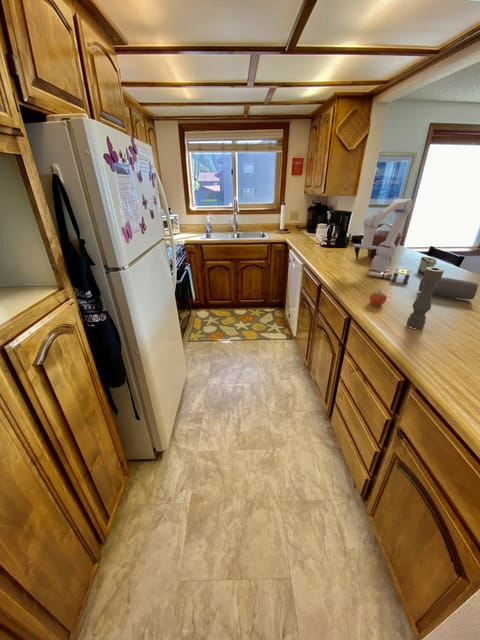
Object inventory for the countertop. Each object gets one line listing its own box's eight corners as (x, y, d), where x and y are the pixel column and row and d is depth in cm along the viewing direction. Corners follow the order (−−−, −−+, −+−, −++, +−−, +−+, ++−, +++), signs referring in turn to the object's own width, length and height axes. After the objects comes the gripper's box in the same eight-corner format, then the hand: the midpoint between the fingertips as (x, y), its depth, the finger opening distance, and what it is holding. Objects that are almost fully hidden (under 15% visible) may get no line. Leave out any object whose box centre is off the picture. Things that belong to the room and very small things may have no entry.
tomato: (383, 309, 125) (387, 293, 122) (366, 306, 129) (370, 290, 125) (385, 303, 131) (389, 288, 127) (369, 300, 134) (372, 286, 131)
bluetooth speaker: (468, 297, 136) (476, 279, 131) (471, 304, 129) (480, 285, 124) (417, 289, 146) (423, 272, 142) (417, 295, 139) (423, 277, 135)
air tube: (367, 276, 166) (368, 271, 165) (368, 275, 169) (369, 270, 167) (390, 280, 160) (391, 275, 159) (390, 278, 162) (392, 273, 161)
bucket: (361, 253, 216) (367, 221, 204) (389, 254, 213) (398, 221, 201) (369, 261, 195) (377, 226, 183) (401, 262, 192) (411, 226, 180)
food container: (435, 278, 162) (441, 262, 157) (424, 277, 163) (429, 261, 158) (427, 272, 173) (432, 257, 168) (416, 271, 174) (421, 256, 169)
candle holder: (402, 323, 114) (421, 266, 102) (416, 322, 114) (436, 266, 102) (412, 330, 108) (433, 272, 96) (426, 329, 109) (449, 271, 97)
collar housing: (391, 281, 158) (394, 272, 155) (393, 277, 164) (395, 268, 161) (406, 284, 154) (410, 274, 151) (407, 279, 160) (410, 270, 157)
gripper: (354, 238, 159) (349, 260, 165) (380, 240, 152) (374, 263, 159) (356, 236, 164) (352, 257, 171) (381, 238, 157) (376, 260, 164)
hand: (363, 260), depth 165 cm, fingers open, 7 cm apart
